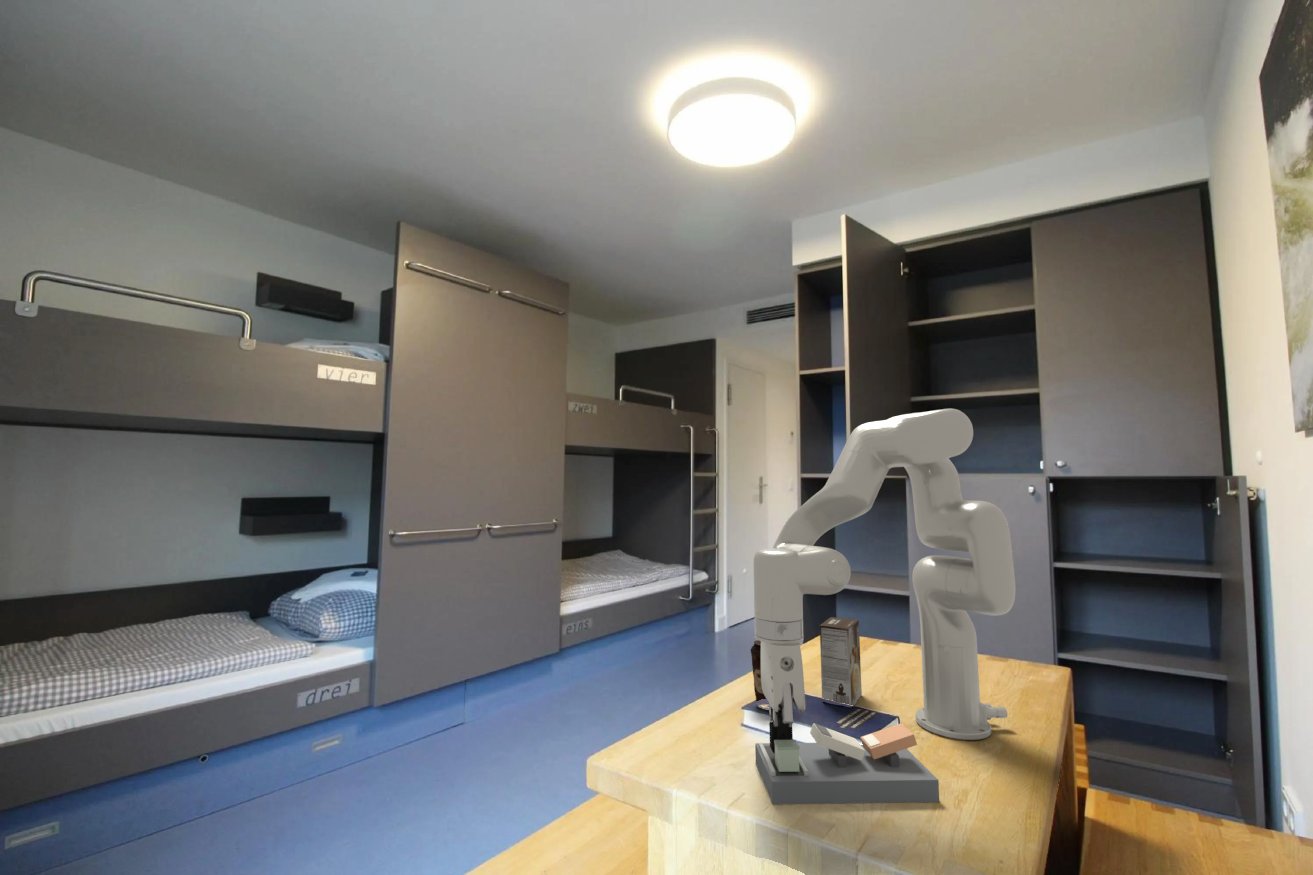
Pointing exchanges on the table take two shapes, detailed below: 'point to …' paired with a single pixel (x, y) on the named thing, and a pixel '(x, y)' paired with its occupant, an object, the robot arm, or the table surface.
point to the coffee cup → (757, 669)
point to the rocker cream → (837, 741)
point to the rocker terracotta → (888, 741)
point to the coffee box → (840, 660)
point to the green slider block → (787, 755)
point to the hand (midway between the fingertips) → (781, 750)
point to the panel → (846, 777)
